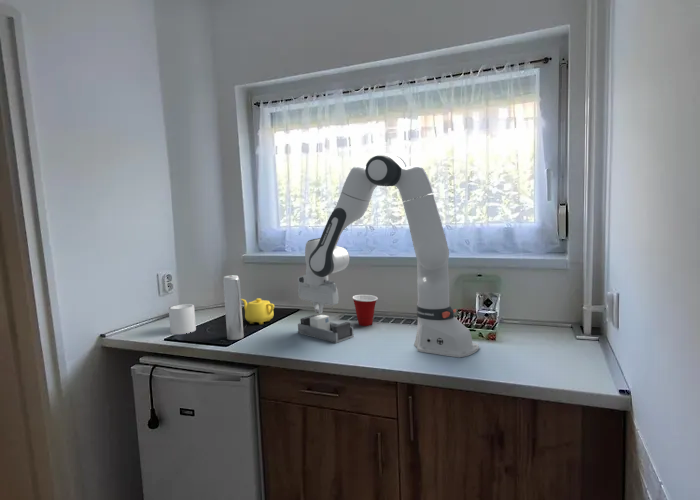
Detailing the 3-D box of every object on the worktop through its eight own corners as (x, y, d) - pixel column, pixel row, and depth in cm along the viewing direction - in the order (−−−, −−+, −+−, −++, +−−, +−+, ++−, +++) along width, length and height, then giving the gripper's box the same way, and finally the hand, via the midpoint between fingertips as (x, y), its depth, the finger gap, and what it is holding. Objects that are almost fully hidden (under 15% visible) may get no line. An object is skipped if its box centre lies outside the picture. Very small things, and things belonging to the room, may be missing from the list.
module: (330, 330, 176) (329, 316, 176) (318, 334, 172) (317, 319, 171) (322, 328, 180) (321, 314, 179) (310, 332, 175) (309, 317, 174)
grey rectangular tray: (353, 336, 170) (353, 322, 169) (336, 343, 163) (335, 327, 162) (315, 327, 185) (315, 314, 184) (298, 333, 178) (297, 319, 177)
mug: (165, 329, 192) (163, 305, 191) (188, 324, 198) (186, 301, 197) (175, 335, 181) (173, 310, 180) (199, 330, 188) (197, 306, 187)
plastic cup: (374, 328, 180) (373, 299, 179) (349, 327, 184) (348, 298, 182) (381, 321, 190) (380, 294, 189) (358, 320, 194) (357, 293, 192)
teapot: (234, 323, 197) (233, 300, 196) (250, 317, 207) (248, 295, 206) (268, 326, 190) (266, 302, 189) (282, 320, 200) (280, 297, 199)
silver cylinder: (239, 340, 171) (235, 277, 169) (224, 339, 173) (219, 277, 170) (246, 335, 178) (242, 274, 175) (231, 335, 179) (227, 274, 177)
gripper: (341, 280, 169) (342, 315, 170) (306, 275, 183) (308, 308, 184) (329, 282, 164) (331, 318, 166) (294, 277, 178) (296, 311, 180)
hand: (318, 313), depth 175 cm, fingers closed
